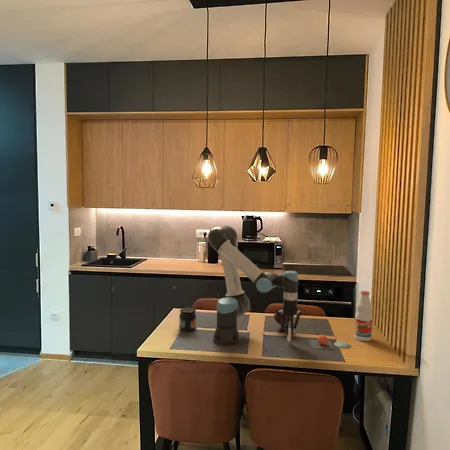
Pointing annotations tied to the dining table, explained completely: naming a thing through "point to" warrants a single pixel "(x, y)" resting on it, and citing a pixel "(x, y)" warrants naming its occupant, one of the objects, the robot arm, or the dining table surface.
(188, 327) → the supplement container
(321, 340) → the ball
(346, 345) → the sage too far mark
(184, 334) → the dining table surface
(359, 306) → the fruit juice
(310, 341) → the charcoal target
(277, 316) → the ice cream bowl
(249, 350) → the dining table surface
